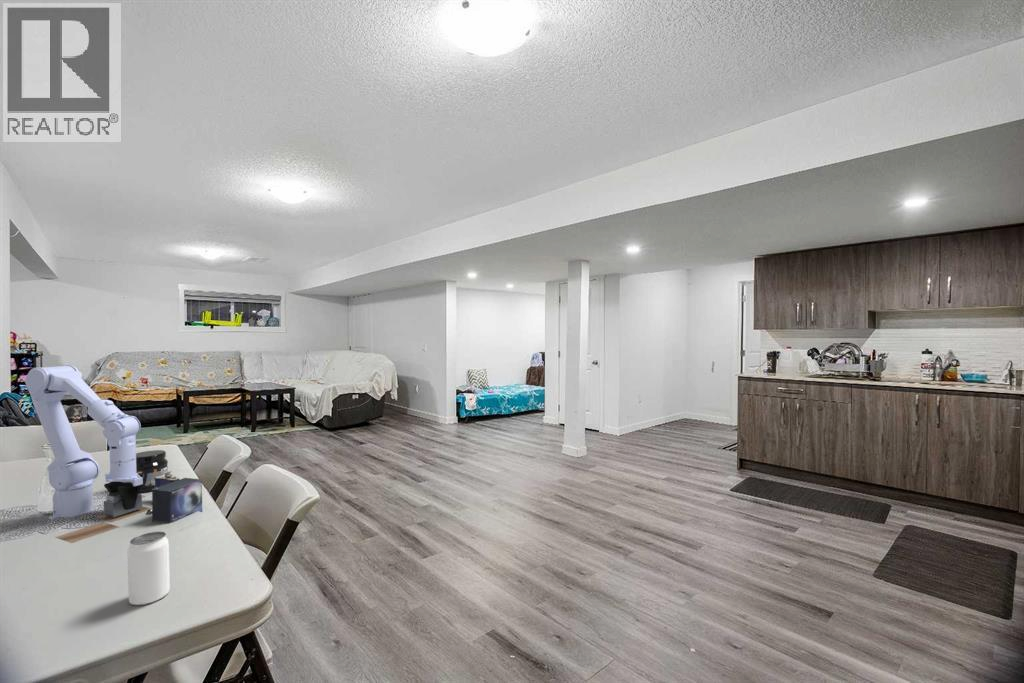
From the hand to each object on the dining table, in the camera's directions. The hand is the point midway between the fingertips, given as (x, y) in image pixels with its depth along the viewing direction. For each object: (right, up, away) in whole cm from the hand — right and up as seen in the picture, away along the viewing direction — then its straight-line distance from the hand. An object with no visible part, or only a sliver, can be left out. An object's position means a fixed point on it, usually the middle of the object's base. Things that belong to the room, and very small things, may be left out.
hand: (124, 507), depth 132 cm
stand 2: (0, -3, 0) cm, 3 cm away
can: (+38, -4, -40) cm, 55 cm away
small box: (+17, -3, -2) cm, 17 cm away
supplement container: (-13, -3, +25) cm, 29 cm away
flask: (+6, -3, +9) cm, 11 cm away
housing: (0, -1, 0) cm, 1 cm away
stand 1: (+1, -3, -12) cm, 13 cm away
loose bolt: (+11, -3, 0) cm, 11 cm away
